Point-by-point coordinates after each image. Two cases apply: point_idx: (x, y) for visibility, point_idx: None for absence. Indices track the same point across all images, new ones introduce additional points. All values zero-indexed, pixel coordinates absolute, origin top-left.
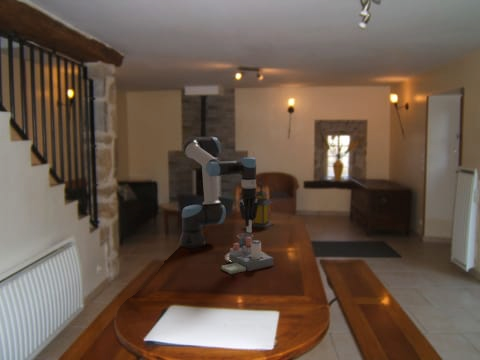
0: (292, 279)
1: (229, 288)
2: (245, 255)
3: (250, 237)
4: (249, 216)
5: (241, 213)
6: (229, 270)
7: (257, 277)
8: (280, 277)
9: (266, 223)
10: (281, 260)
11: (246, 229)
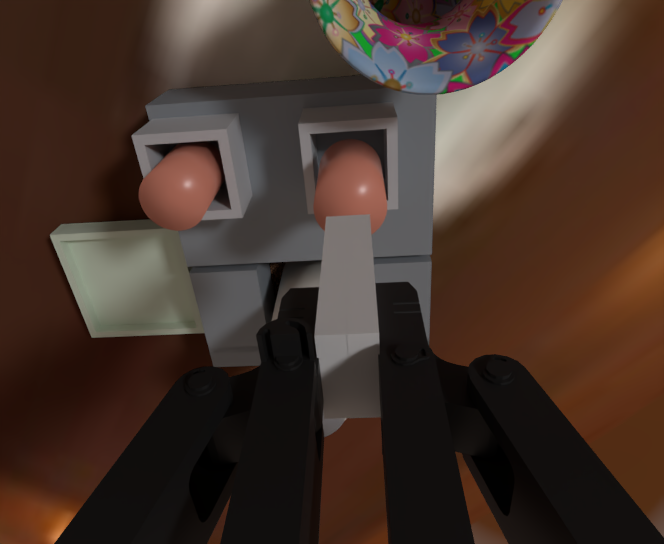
0: (365, 495)
1: (45, 454)
2: (269, 222)
3: (376, 206)
4: (389, 399)
5: (107, 504)
6: (87, 321)
7: None
8: (331, 461)
9: None
10: (545, 275)
11: (325, 233)
